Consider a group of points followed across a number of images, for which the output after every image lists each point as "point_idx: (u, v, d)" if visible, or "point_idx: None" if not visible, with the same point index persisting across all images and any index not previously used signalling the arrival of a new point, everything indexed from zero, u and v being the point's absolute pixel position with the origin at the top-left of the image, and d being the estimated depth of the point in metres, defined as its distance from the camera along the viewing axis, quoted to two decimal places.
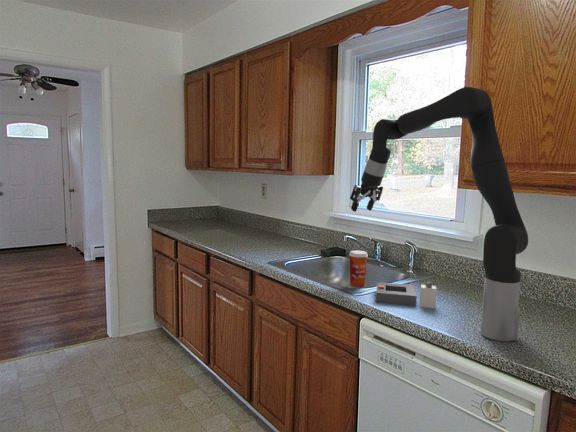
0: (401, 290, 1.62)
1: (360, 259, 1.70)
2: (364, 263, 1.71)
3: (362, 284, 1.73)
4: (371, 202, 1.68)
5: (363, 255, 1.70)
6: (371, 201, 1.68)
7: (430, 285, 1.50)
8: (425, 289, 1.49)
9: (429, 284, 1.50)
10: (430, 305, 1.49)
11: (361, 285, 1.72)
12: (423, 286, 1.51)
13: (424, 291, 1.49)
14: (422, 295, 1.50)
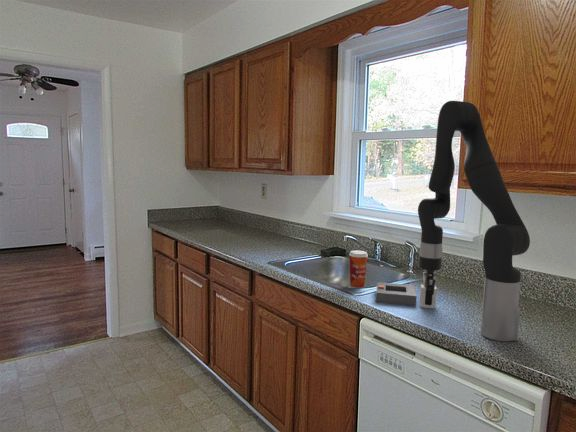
0: (401, 290, 1.62)
1: (360, 259, 1.70)
2: (364, 263, 1.71)
3: (362, 284, 1.73)
4: None
5: (363, 255, 1.70)
6: None
7: None
8: (425, 289, 1.49)
9: None
10: (430, 305, 1.49)
11: (361, 285, 1.72)
12: None
13: (424, 291, 1.49)
14: (422, 295, 1.49)
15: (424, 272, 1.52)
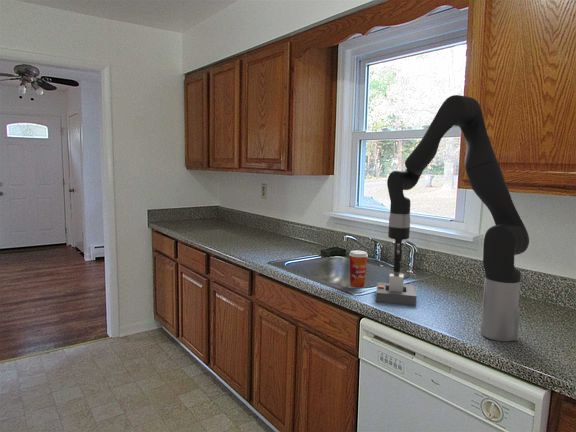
0: None
1: (360, 259, 1.70)
2: (364, 263, 1.71)
3: (362, 284, 1.73)
4: None
5: (363, 255, 1.70)
6: None
7: (398, 274, 1.58)
8: (393, 278, 1.57)
9: (397, 273, 1.58)
10: None
11: (361, 285, 1.72)
12: (392, 275, 1.59)
13: (392, 279, 1.57)
14: (390, 283, 1.58)
15: (393, 242, 1.59)
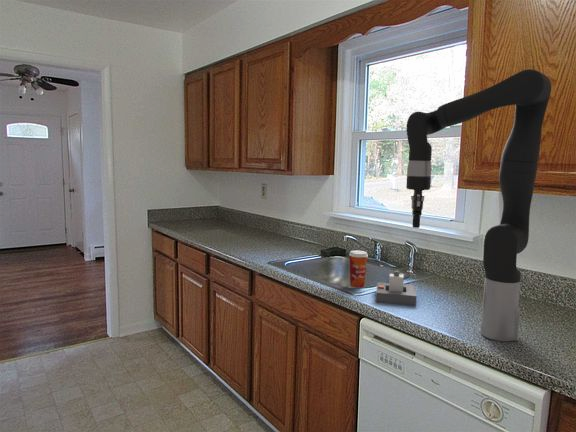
0: None
1: (360, 259, 1.70)
2: (364, 263, 1.71)
3: (362, 284, 1.73)
4: None
5: (363, 255, 1.70)
6: None
7: (398, 274, 1.58)
8: (393, 278, 1.57)
9: (397, 273, 1.58)
10: None
11: (361, 285, 1.72)
12: (392, 275, 1.59)
13: (392, 279, 1.57)
14: (390, 283, 1.58)
15: None
